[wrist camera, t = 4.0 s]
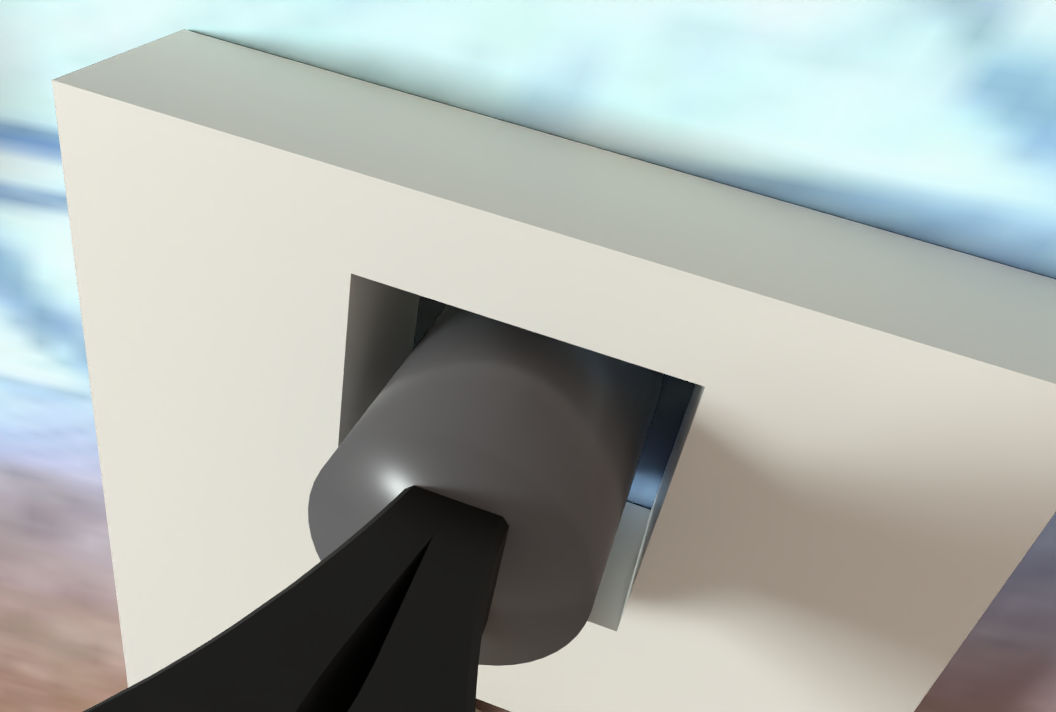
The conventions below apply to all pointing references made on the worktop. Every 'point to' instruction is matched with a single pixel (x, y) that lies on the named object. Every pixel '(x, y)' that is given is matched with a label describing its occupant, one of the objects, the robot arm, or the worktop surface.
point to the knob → (503, 464)
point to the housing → (564, 314)
